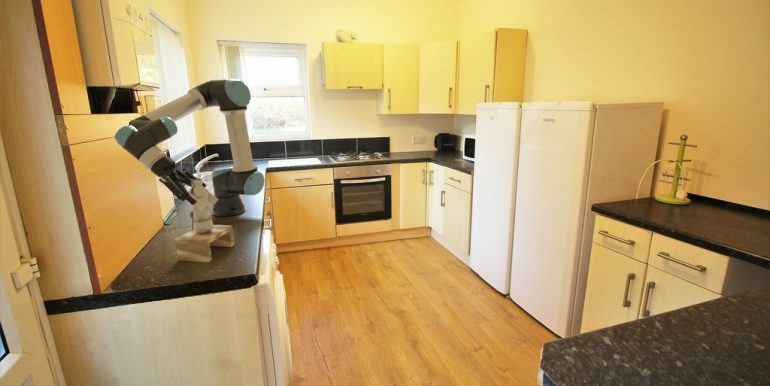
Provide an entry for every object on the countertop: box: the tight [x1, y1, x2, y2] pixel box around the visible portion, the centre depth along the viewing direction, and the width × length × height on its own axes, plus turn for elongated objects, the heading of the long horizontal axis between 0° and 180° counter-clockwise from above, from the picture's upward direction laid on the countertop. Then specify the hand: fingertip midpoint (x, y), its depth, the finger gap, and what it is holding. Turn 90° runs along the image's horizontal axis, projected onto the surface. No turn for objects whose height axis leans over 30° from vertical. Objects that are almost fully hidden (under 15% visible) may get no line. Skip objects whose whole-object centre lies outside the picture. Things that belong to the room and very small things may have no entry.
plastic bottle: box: [188, 177, 214, 233], centre depth 130 cm, size 6×7×20 cm
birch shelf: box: [174, 224, 235, 263], centre depth 134 cm, size 16×12×8 cm
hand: (210, 205), depth 130 cm, fingers open, 8 cm apart
